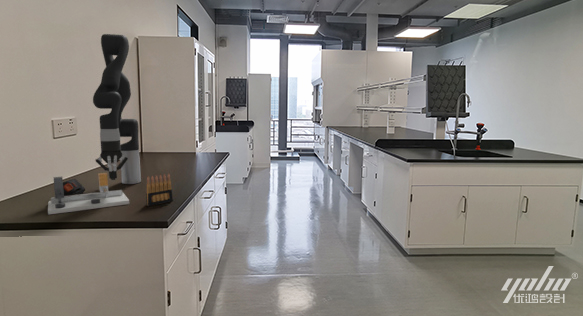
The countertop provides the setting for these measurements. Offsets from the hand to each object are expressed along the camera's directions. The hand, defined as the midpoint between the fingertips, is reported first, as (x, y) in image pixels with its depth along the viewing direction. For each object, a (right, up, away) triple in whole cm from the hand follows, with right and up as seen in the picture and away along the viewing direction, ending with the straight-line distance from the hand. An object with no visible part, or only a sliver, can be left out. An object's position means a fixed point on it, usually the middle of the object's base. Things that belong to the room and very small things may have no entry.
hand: (113, 179), depth 158 cm
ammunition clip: (+22, -10, -5) cm, 24 cm away
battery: (-22, -8, +8) cm, 24 cm away
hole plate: (-6, -10, -7) cm, 14 cm away
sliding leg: (-1, -6, -4) cm, 7 cm away
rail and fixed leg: (-6, -8, -7) cm, 13 cm away
